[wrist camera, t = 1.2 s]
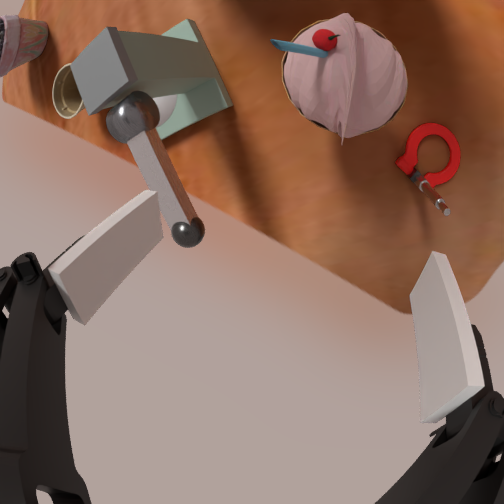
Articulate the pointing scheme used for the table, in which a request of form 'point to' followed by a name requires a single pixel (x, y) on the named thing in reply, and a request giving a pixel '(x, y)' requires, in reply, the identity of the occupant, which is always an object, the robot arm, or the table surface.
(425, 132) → the tow hook
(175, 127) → the press
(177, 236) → the lever
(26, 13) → the table surface
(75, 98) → the flower pot
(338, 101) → the ice cream cone
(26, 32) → the potted plant
